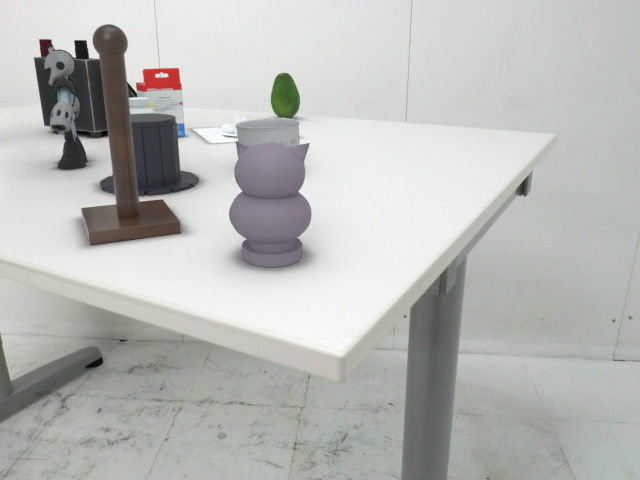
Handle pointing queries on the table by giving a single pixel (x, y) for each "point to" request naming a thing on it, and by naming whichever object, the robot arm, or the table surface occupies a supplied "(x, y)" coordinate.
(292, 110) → the fruit
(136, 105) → the supplement bottle
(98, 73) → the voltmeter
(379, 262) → the table surface
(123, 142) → the stand
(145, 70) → the ink box
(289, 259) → the cat figurine
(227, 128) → the teacup and saucer
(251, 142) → the teacup
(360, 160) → the table surface
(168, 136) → the hat
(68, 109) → the robot
